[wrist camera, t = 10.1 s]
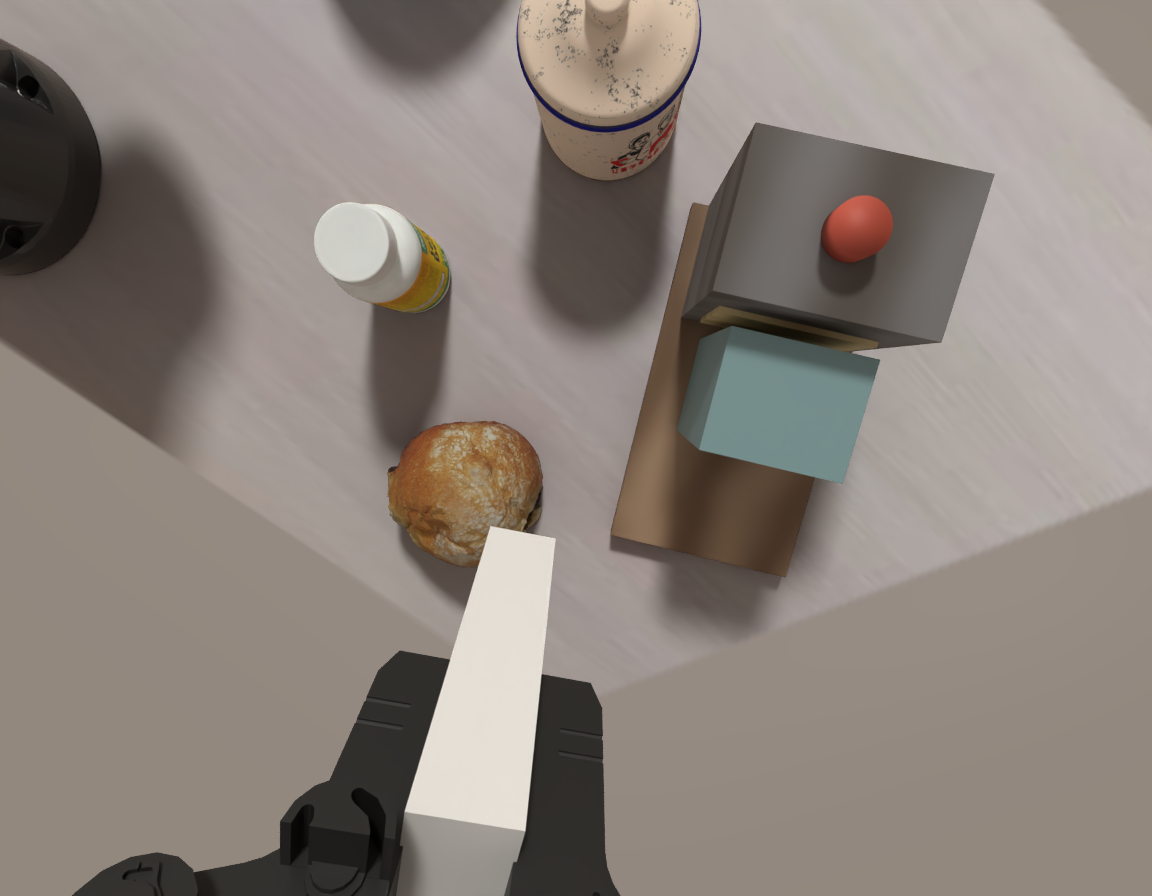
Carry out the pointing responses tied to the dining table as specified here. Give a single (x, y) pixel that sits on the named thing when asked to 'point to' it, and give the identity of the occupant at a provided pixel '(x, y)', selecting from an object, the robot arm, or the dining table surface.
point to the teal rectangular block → (777, 402)
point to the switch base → (697, 476)
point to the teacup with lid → (608, 77)
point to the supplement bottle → (382, 257)
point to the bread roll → (464, 488)
